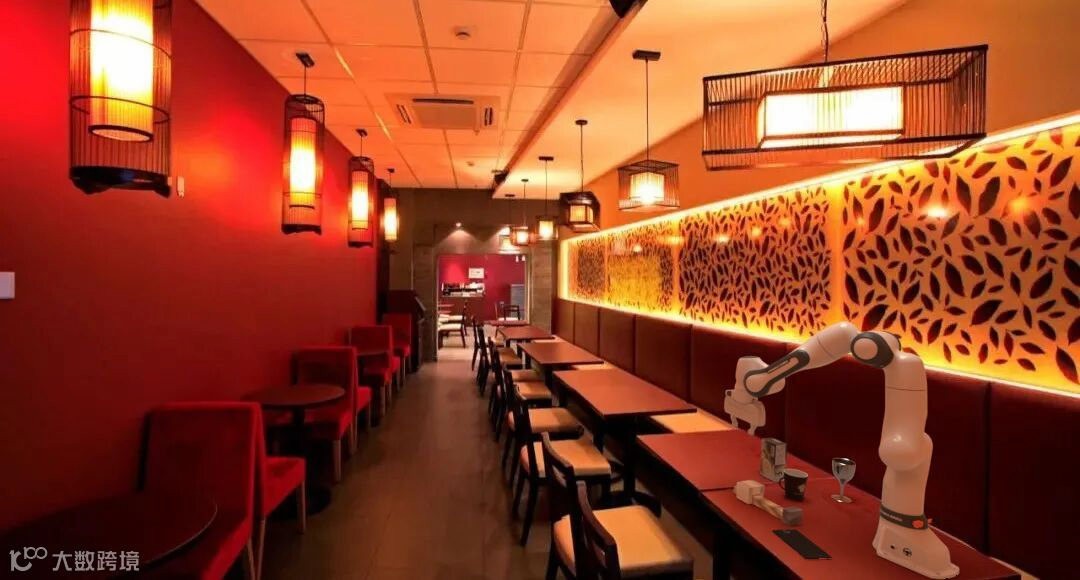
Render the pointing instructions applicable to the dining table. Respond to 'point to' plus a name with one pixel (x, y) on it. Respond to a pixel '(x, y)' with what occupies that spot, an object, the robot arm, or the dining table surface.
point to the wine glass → (843, 475)
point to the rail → (777, 510)
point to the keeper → (749, 490)
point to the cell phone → (801, 544)
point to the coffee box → (773, 459)
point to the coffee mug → (794, 484)
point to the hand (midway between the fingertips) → (742, 430)
